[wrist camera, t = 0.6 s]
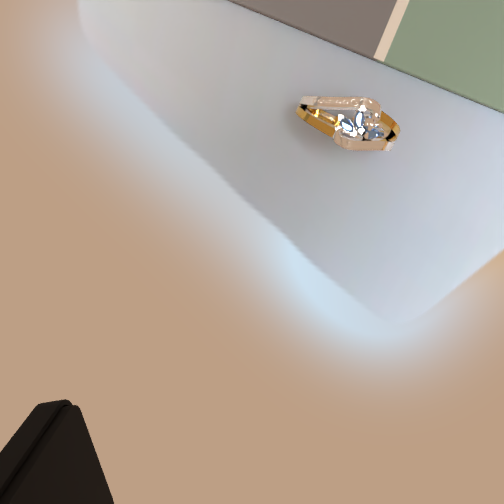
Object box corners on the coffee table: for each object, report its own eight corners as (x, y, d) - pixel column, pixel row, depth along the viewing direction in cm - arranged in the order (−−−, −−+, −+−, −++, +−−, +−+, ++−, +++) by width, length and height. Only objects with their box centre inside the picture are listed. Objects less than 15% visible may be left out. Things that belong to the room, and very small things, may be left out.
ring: (386, 124, 32) (426, 124, 25) (365, 162, 33) (398, 174, 26) (305, 82, 32) (321, 70, 24) (285, 123, 33) (295, 123, 25)
